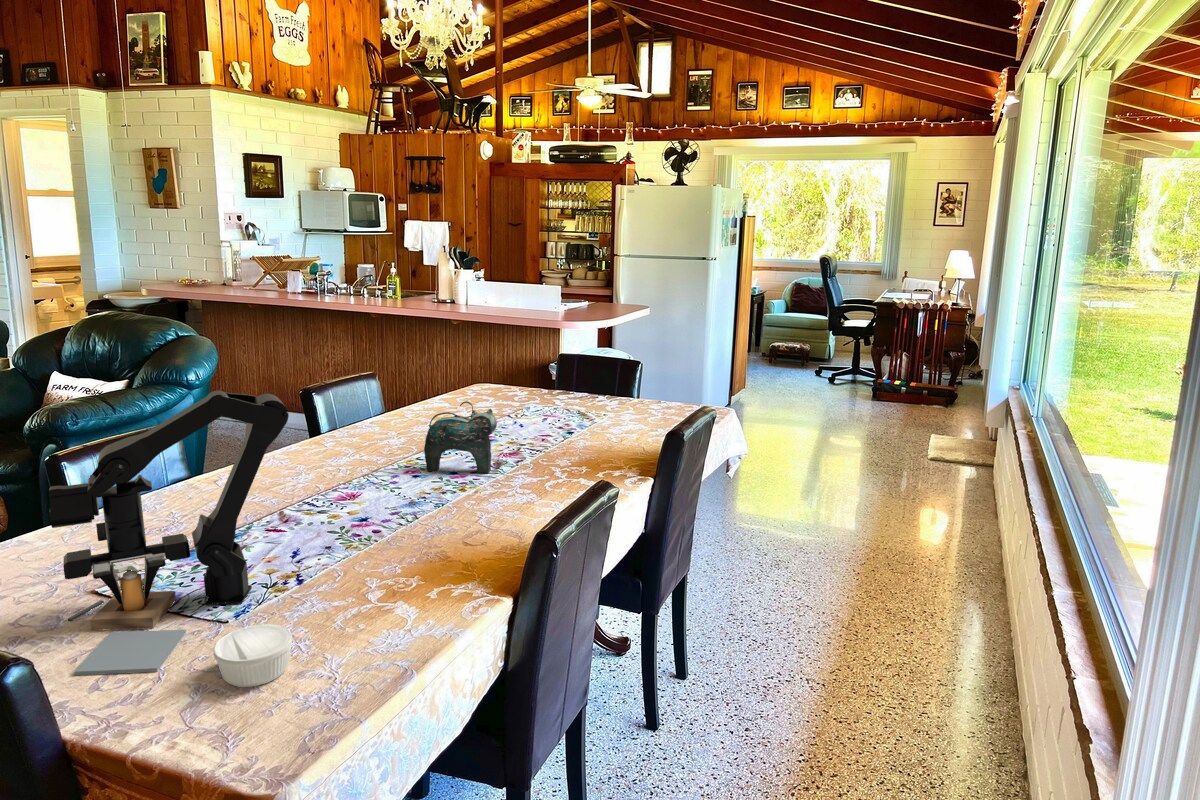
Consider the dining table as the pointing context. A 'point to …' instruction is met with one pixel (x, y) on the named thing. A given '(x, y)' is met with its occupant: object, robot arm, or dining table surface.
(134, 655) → the rubber mat
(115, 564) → the pliers
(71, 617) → the strip
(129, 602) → the orange cylinder
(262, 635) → the ramekin
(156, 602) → the brown square frame
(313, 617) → the dining table surface
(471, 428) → the green animal figurine
